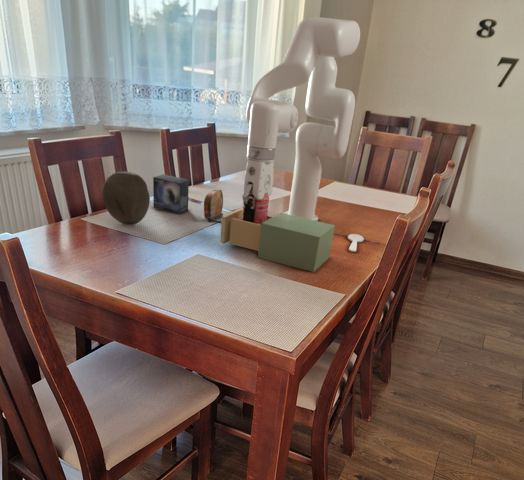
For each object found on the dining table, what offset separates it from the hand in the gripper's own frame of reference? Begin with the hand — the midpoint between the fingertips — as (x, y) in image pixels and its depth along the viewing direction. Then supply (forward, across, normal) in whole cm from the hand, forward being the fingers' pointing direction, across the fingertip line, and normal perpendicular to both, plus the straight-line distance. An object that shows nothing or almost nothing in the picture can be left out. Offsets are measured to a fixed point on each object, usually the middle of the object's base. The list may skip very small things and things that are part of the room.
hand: (254, 218), depth 137 cm
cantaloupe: (+8, -7, +39) cm, 41 cm away
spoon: (+8, +26, -25) cm, 37 cm away
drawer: (+7, 0, +2) cm, 8 cm away
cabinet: (+8, 0, -14) cm, 16 cm away
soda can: (+5, 0, 0) cm, 5 cm away
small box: (+9, +15, +38) cm, 42 cm away
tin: (+9, +18, +23) cm, 31 cm away
